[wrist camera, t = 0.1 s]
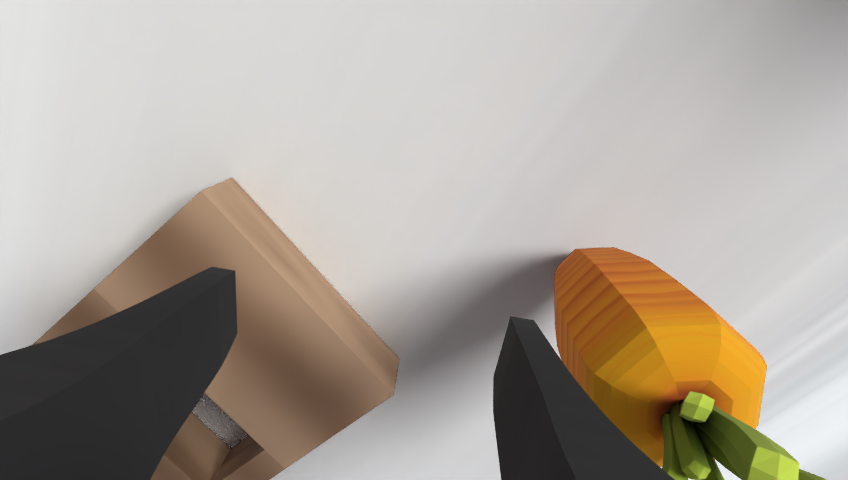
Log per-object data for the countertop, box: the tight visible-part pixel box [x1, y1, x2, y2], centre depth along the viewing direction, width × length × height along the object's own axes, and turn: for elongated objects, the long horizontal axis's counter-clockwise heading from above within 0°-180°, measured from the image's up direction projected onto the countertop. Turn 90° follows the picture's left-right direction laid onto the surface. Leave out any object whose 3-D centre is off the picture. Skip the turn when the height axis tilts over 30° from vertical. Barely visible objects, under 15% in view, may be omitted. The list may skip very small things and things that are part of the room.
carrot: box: [554, 247, 826, 480], centre depth 16 cm, size 5×5×15 cm
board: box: [33, 178, 400, 480], centre depth 24 cm, size 14×12×3 cm
